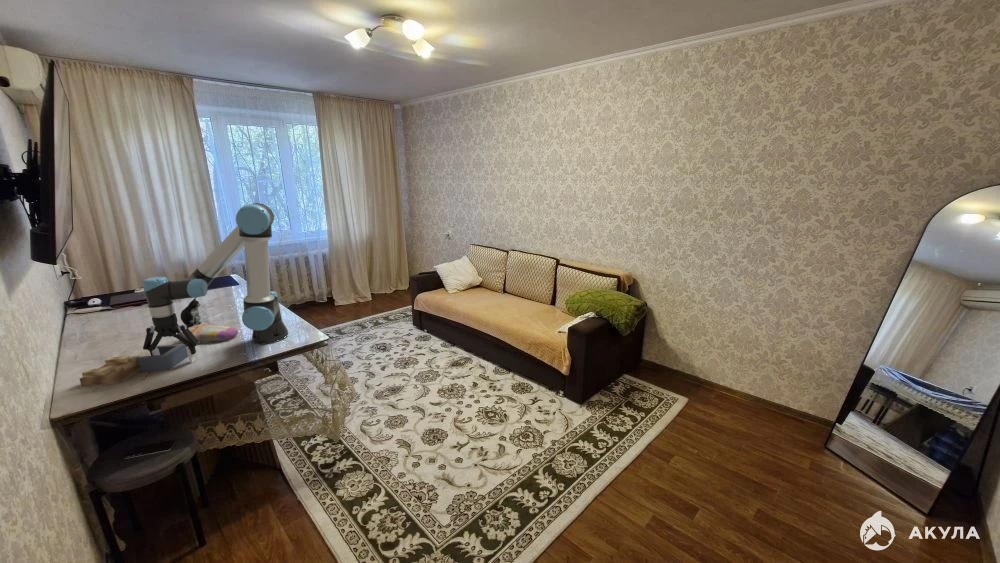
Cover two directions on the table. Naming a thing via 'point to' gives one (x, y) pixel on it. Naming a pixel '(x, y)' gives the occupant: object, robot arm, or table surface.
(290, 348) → the table surface
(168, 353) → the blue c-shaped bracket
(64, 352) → the table surface
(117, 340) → the table surface
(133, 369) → the stand
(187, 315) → the figurine
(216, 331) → the sculpture
